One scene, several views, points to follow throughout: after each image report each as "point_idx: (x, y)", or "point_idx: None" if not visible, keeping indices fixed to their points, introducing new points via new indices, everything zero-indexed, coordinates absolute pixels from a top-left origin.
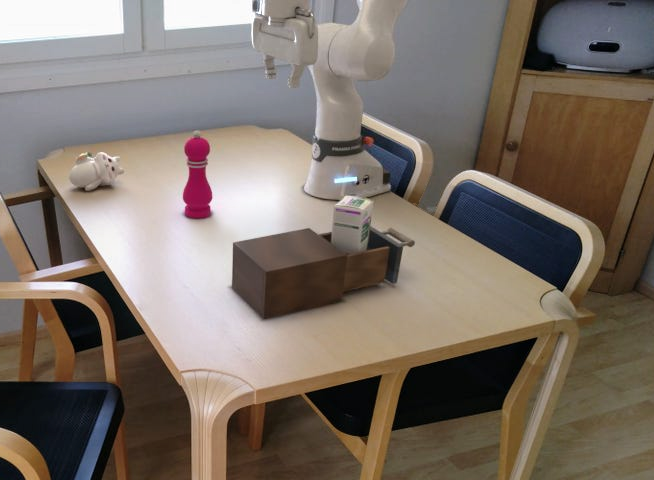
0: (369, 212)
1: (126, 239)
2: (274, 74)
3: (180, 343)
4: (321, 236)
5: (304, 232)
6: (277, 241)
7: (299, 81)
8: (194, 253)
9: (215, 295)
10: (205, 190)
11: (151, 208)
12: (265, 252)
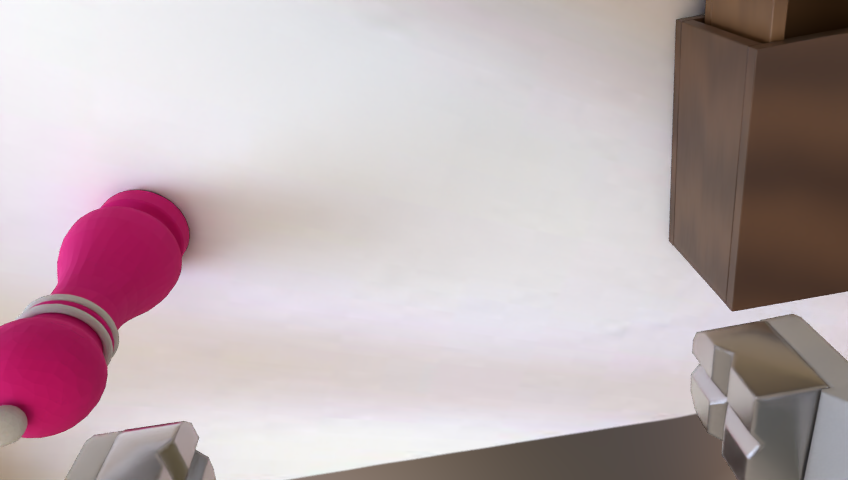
0: None
1: (316, 420)
2: (172, 461)
3: None
4: (786, 4)
5: (783, 81)
6: (796, 192)
7: (831, 349)
8: (447, 287)
9: (688, 282)
10: (151, 259)
11: None
12: (842, 246)
